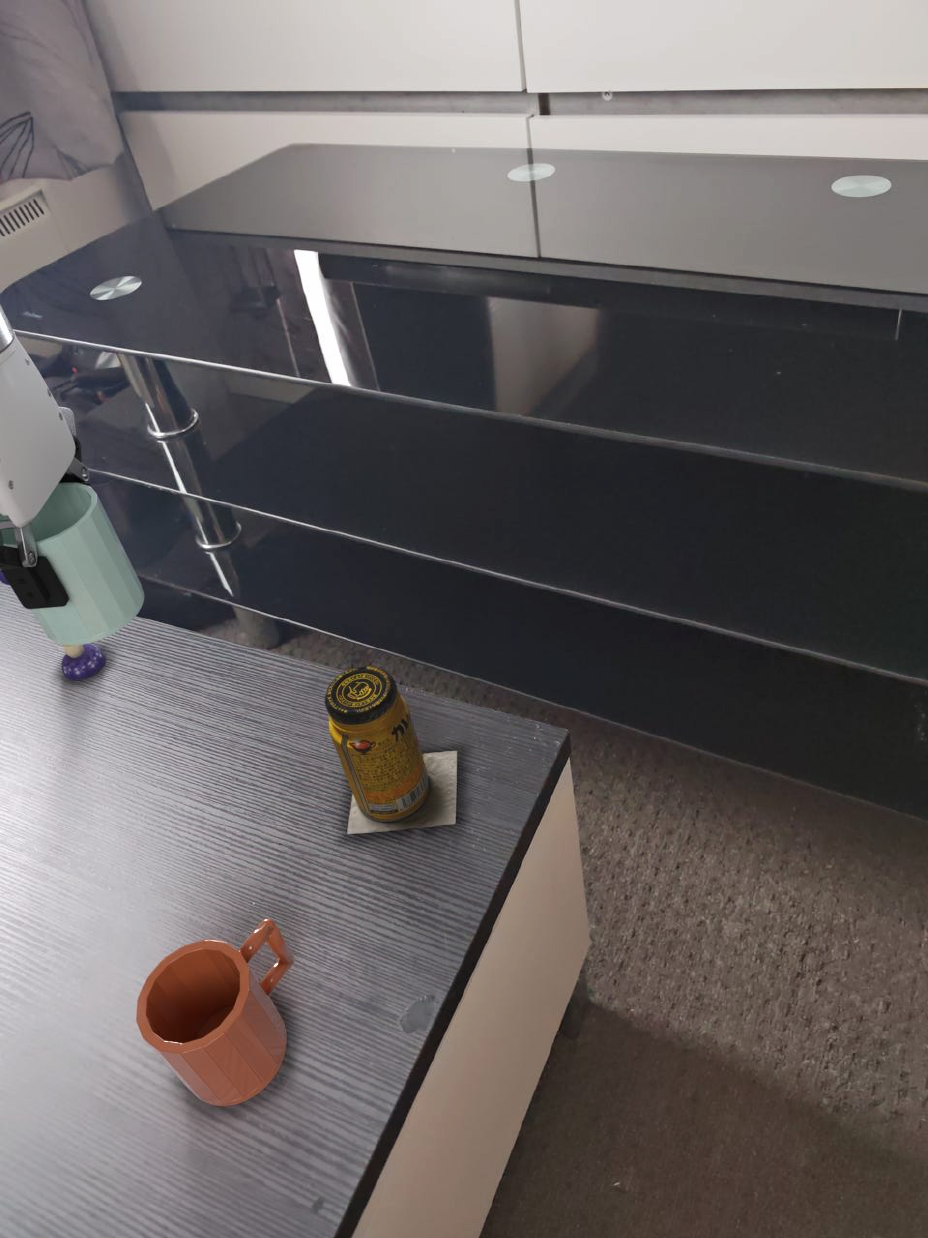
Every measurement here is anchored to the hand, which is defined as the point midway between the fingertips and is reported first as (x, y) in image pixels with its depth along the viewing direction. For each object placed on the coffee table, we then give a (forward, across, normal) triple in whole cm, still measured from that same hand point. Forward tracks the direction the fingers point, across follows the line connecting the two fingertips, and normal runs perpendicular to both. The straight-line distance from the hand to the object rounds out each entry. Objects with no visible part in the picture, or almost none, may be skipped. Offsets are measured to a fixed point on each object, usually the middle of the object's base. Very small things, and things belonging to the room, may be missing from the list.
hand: (69, 565), depth 66 cm
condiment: (+21, +6, +21) cm, 31 cm away
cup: (+4, 0, 0) cm, 4 cm away
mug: (+21, +25, +13) cm, 35 cm away
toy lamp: (+21, -11, -12) cm, 27 cm away
